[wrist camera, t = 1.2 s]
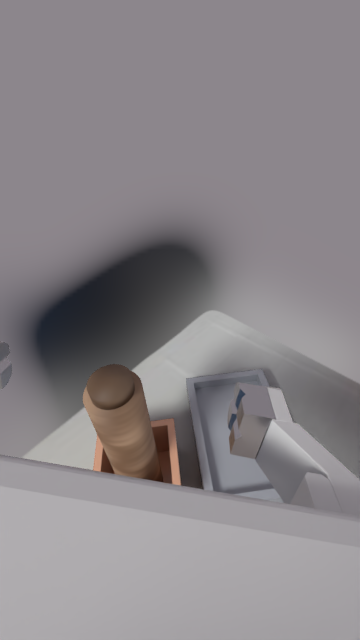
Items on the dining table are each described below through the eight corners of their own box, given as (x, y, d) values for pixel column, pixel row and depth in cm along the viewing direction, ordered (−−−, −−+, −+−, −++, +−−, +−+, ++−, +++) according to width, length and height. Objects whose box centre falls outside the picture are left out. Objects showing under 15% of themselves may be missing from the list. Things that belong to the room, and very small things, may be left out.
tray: (260, 379, 48) (262, 368, 46) (310, 501, 34) (315, 492, 32) (186, 388, 47) (186, 378, 46) (207, 516, 33) (207, 508, 32)
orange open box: (177, 447, 40) (173, 418, 35) (185, 525, 33) (182, 500, 28) (110, 456, 39) (98, 428, 35) (104, 537, 32) (87, 514, 28)
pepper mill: (162, 461, 37) (139, 355, 25) (164, 503, 34) (140, 403, 22) (124, 467, 37) (83, 362, 25) (122, 509, 33) (73, 411, 21)
